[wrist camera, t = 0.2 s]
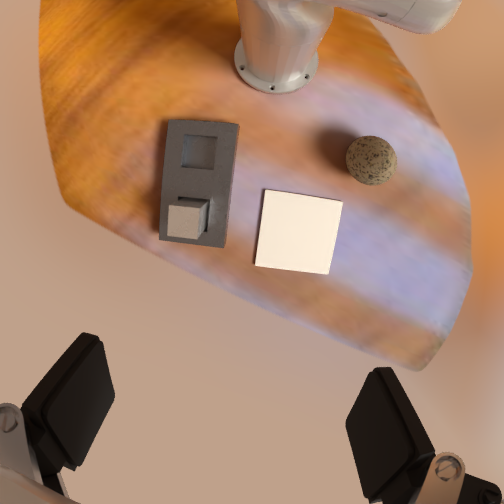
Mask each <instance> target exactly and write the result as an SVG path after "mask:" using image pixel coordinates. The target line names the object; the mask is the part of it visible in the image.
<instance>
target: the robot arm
mask: <svg viewBox="0 0 504 504" xmlns="http://www.w3.org/2000/svg"><path fill="white" fill-rule="evenodd" d="M461 1H462V0H236V3H237V8H238V16H239V22H240V29H241V36H242V37H241V39H240V40H239V41H238V43H237V45H236V48H235V51H234V61H235V66H236V69H237V71H238V73H239V75H240V76H241V77H242V79H243V80H244V81H245V82H246V83H247V84H249V85H250V86H251V87H253V88H255V89H257V90H259V91H262V92H265V93H270V94H287V93H291V92H294V91H297V90H299V89H301V88H303V87H304V86H305V85H307V84H308V83H309V82H310V81H311V79H312V78H313V76H314V75H315V73H316V70H317V68H318V53H317V50H316V49H317V47H318V46H319V44H320V42H321V40H322V38H323V37H324V35H325V33H326V31H327V30H328V28H329V26H330V24H331V22H332V19H333V14H334V7H339V8H342V9H346V10H349V11H352V12H356V13H359V14H362V15H365V16H368V17H371V18H374V19H376V20H379V21H382V22H385V23H387V24H390V25H393V26H395V27H398V28H400V29H403V30H406V31H409V32H412V33H416V34H432V33H435V32H437V31H439V30H441V29H442V28H443V27H445V26H446V25H447V24H448V23H449V21H450V20H451V19H452V18H453V16H454V14H455V13H456V11H457V9H458V7H459V5H460V3H461ZM242 68H244V70H241V69H242ZM304 77H307V79H305V78H304ZM270 88H274V90H271V89H270ZM114 398H115V392H114V388H113V385H112V380H111V377H110V373H109V368H108V364H107V359H106V355H105V350H104V345H103V342H102V341H100V340H99V337H98V336H96V335H92V334H89V333H85V332H83V333H81V334H80V335H79V336H78V338H77V339H76V340H75V341H74V342H73V343H72V344H71V345H70V347H69V348H68V349H67V350H66V351H65V352H64V354H63V355H62V356H61V357H60V358H59V359H58V361H57V362H56V363H55V364H54V365H53V366H52V368H51V369H50V370H49V371H48V372H47V374H46V375H45V376H44V377H43V379H42V380H41V381H40V382H39V383H38V385H37V386H36V387H35V388H34V390H33V391H32V392H31V394H30V395H29V396H28V397H27V399H26V400H25V401H24V403H23V404H22V407H21V409H19V408H18V407H17V406H16V405H14V404H11V403H2V404H0V504H79V503H77V502H75V501H73V500H71V499H70V498H69V495H68V493H67V490H66V487H65V485H64V482H63V479H62V476H61V473H60V471H61V469H62V467H63V466H64V467H66V468H68V469H71V470H73V471H75V469H76V467H77V466H81V465H82V463H83V461H84V459H85V457H86V455H87V453H88V451H89V449H90V447H91V445H92V443H93V441H94V438H95V437H96V434H97V433H98V431H99V429H100V427H101V425H102V422H103V421H104V419H105V417H106V415H107V413H108V411H109V409H110V407H111V405H112V403H113V401H114ZM346 430H347V434H348V437H349V441H350V445H351V448H352V452H353V456H354V459H355V463H356V467H357V471H358V475H359V478H360V483H361V487H362V491H363V495H364V497H365V498H368V500H369V504H372V503H376V502H381V501H382V502H383V504H504V499H503V500H502V494H501V491H500V489H499V487H498V486H497V485H495V484H493V483H491V482H488V481H485V480H482V479H480V478H477V477H474V476H471V475H469V474H466V473H465V465H464V462H463V461H462V459H461V458H460V457H459V456H457V455H456V454H454V453H450V452H443V453H440V454H438V455H437V456H436V455H435V449H434V447H433V445H432V443H431V441H430V439H429V437H428V435H427V433H426V431H425V429H424V427H423V425H422V423H421V421H420V419H419V417H418V415H417V413H416V412H415V410H414V408H413V406H412V404H411V402H410V400H409V398H408V397H407V395H406V393H405V391H404V389H403V387H402V386H401V384H400V382H399V380H398V378H397V376H396V375H395V373H394V371H393V369H392V368H391V367H377V368H375V369H374V370H373V371H372V372H369V374H368V376H367V378H366V380H365V382H364V385H363V387H362V389H361V391H360V393H359V395H358V397H357V399H356V401H355V403H354V405H353V407H352V409H351V411H350V413H349V415H348V417H347V419H346Z"/></svg>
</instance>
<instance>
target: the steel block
mask: <svg viewBox="0 0 504 504" xmlns="http://www.w3.org/2000/svg"><path fill="white" fill-rule="evenodd" d="M209 207H210V200H209V199H199V198H190V197H184V198H182V199H180V200H178V201H176V202H174V203H172V204H170V205H169V213H168V231H167V236H174V237H182V238H190V239H198V238H199V236H200V235H201V234H202V232H203V231H204V230H205V228H206V227H207V226H208V218H209Z"/></svg>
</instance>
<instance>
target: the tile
mask: <svg viewBox="0 0 504 504" xmlns="http://www.w3.org/2000/svg"><path fill="white" fill-rule="evenodd" d="M342 205H343V202H342V201H337V200H331V199H325V198H320V197H314V196H307V195H301V194H295V193H288V192H281V191H274V190H267V189H265V196H264V204H263V211H262V218H261V225H260V233H259V240H258V247H257V254H256V261H255V266H262V267H270V268H278V269H286V270H294V271H303V272H311V273H320V274H328V272H329V268H330V264H331V259H332V255H333V250H334V245H335V241H336V236H337V231H338V226H339V221H340V215H341V210H342Z"/></svg>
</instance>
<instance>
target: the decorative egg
mask: <svg viewBox="0 0 504 504" xmlns="http://www.w3.org/2000/svg"><path fill="white" fill-rule="evenodd" d="M346 165H347V168H348V170H349V172H350V174H351V175H352V176H353V177H354V178H355V179H356V180H358V181H359V182H361V183H363V184H366V185H380V184H383V183H385V182H386V181H388V180H389V179H390V178H391V177H392V176H393V174H394V173H395V171H396V167H397V157H396V154H395V151H394V150H393V148H392V147H391V145H390V144H389V143H388V142H386V141H385V140H383V139H381V138H379V137H376V136H363V137H360V138H358V139H356V140H355V141H354V142H353V143H352V144H351V145H350V146H349V148H348V150H347V153H346Z"/></svg>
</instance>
